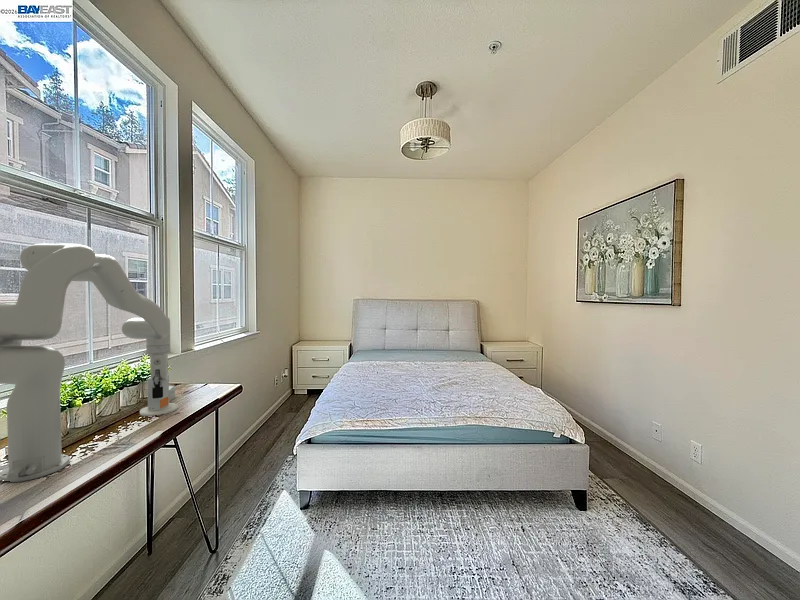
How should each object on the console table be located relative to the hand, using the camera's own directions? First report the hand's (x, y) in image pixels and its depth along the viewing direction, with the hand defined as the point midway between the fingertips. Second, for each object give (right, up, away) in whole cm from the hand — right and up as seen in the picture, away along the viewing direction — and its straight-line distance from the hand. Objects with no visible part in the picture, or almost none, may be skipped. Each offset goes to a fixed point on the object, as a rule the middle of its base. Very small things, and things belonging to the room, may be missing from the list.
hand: (159, 394), depth 136 cm
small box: (-8, -6, +13) cm, 16 cm away
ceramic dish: (0, -6, 0) cm, 6 cm away
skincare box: (0, -5, 0) cm, 5 cm away
